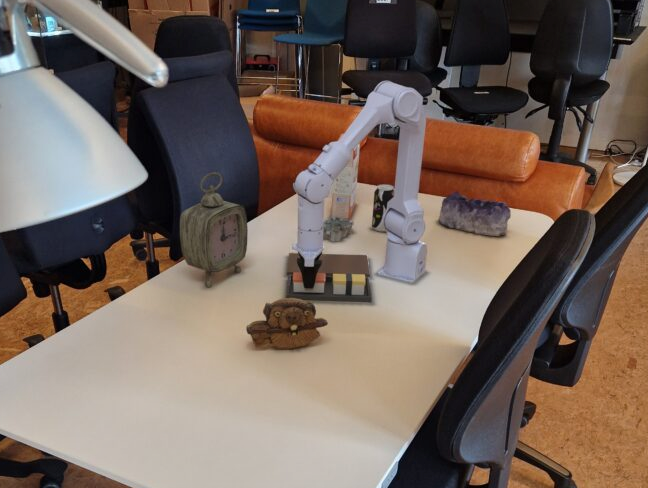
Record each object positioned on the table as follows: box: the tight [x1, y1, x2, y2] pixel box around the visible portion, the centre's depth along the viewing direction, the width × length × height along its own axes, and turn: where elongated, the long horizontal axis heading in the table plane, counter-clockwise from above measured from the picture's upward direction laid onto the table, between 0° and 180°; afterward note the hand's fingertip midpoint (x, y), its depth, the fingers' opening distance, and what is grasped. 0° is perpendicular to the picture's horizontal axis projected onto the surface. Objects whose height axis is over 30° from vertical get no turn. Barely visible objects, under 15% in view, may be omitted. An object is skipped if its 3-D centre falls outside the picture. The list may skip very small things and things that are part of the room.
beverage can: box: [371, 183, 395, 233], centre depth 199 cm, size 6×6×12 cm
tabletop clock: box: [179, 172, 249, 288], centre depth 167 cm, size 14×9×25 cm, turn 143°
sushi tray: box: [285, 275, 372, 303], centre depth 168 cm, size 19×11×2 cm, turn 87°
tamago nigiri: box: [333, 273, 366, 295], centre depth 167 cm, size 7×4×4 cm, turn 87°
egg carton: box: [323, 215, 355, 243], centre depth 198 cm, size 11×8×4 cm
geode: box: [437, 190, 512, 237], centre depth 201 cm, size 20×12×10 cm, turn 64°
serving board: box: [286, 252, 371, 279], centre depth 179 cm, size 20×12×1 cm, turn 87°
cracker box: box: [330, 133, 361, 220], centre depth 209 cm, size 14×6×21 cm, turn 168°
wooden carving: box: [245, 297, 329, 349], centre depth 144 cm, size 16×5×10 cm, turn 105°
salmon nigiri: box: [293, 272, 325, 293], centre depth 167 cm, size 7×4×3 cm, turn 87°
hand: (308, 283), depth 167 cm, fingers closed on salmon nigiri, 4 cm apart
